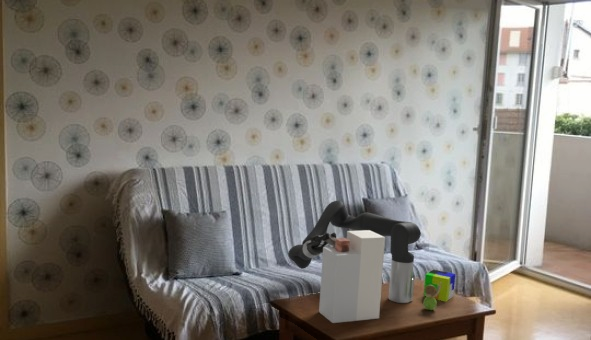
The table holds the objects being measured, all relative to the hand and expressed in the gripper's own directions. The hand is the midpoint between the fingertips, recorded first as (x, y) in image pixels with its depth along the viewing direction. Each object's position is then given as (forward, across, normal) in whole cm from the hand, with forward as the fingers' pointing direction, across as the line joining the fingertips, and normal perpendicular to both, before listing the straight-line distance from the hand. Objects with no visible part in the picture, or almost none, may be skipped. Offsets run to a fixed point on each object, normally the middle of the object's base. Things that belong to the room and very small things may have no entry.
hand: (331, 235), depth 244 cm
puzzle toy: (-16, -55, -25) cm, 63 cm away
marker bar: (+1, 0, -5) cm, 5 cm away
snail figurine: (-4, -41, -32) cm, 52 cm away
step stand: (-7, -5, -30) cm, 32 cm away
